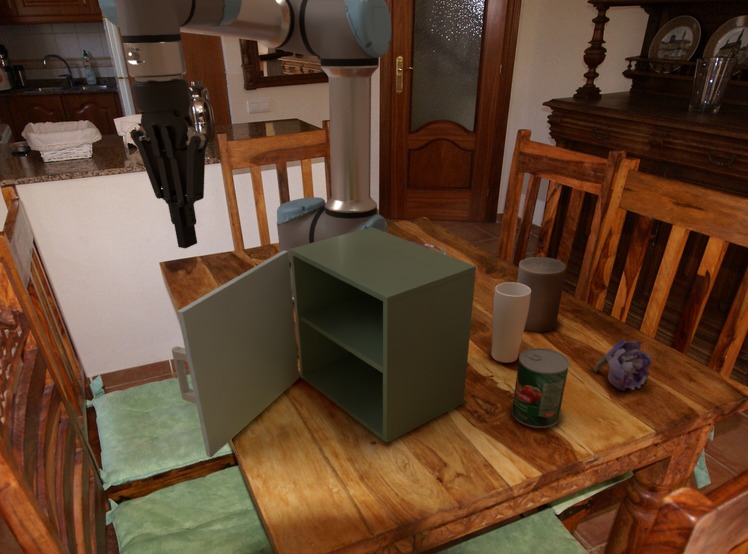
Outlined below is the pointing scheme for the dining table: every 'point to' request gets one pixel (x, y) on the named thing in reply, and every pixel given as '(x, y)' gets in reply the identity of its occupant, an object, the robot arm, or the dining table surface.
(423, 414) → the cupboard
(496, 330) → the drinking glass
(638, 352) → the flower
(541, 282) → the pillar candle
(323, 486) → the dining table surface
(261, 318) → the door
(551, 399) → the canned tomato
